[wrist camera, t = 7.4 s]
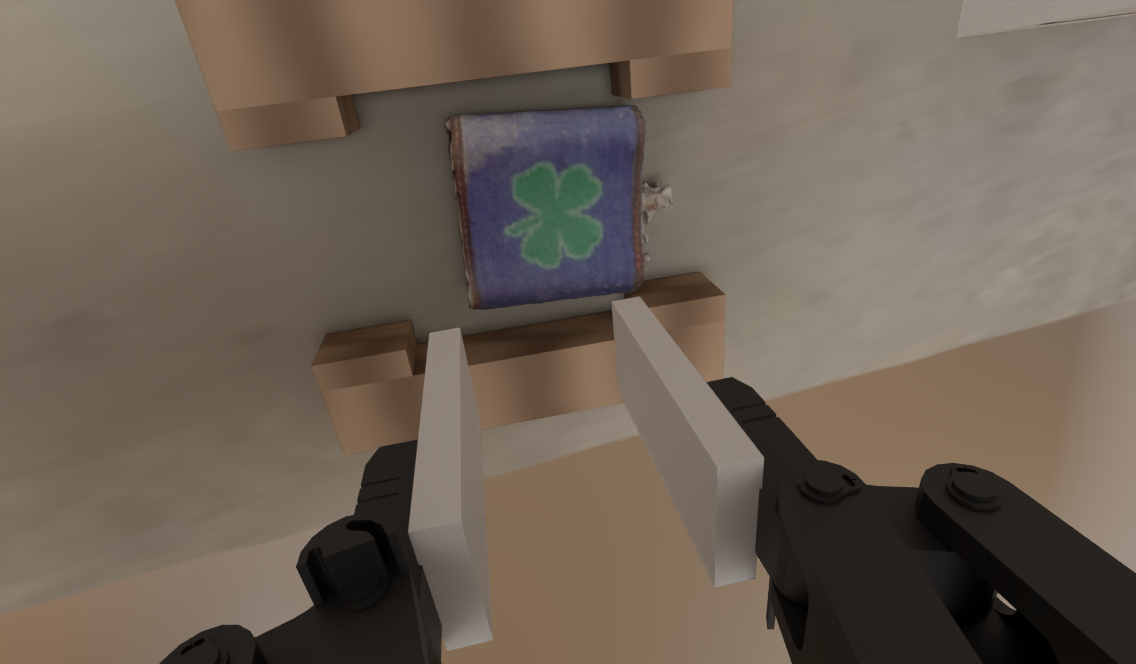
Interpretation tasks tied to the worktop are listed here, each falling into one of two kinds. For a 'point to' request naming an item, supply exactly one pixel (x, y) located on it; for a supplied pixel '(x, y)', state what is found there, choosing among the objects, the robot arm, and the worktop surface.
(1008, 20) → the grater
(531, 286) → the flask
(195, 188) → the worktop surface
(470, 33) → the holder
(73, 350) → the worktop surface
